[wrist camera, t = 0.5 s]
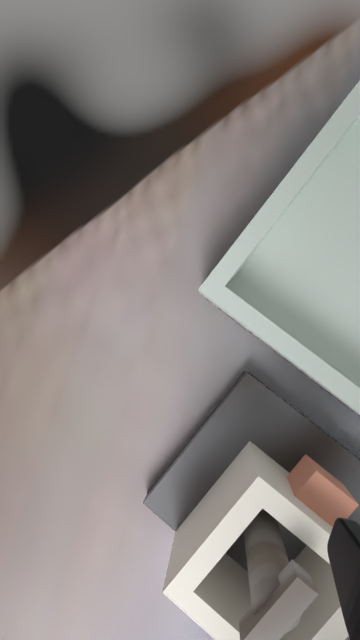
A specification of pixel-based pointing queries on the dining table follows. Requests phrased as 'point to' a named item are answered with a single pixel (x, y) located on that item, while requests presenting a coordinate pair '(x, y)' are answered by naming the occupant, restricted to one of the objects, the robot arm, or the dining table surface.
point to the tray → (305, 262)
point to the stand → (264, 531)
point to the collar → (228, 524)
